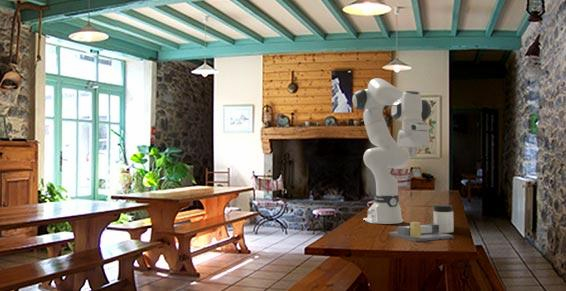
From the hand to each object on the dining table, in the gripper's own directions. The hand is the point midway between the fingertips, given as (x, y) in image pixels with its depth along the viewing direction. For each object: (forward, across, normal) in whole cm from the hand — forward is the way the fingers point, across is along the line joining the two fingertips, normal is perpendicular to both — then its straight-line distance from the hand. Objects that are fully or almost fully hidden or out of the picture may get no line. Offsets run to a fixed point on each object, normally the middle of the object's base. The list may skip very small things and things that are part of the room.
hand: (412, 157), depth 245 cm
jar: (+34, 0, +16) cm, 38 cm away
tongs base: (+33, +5, -2) cm, 33 cm away
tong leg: (+33, +7, +1) cm, 33 cm away
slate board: (+34, +7, -2) cm, 35 cm away
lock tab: (+33, +14, -9) cm, 37 cm away
